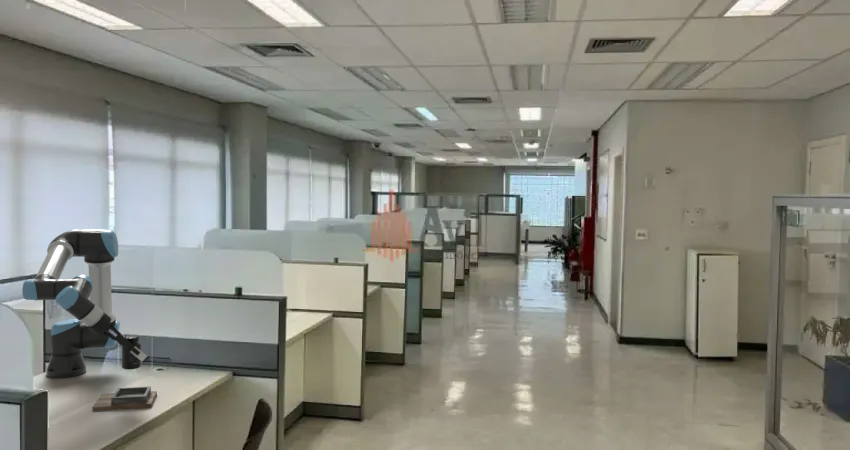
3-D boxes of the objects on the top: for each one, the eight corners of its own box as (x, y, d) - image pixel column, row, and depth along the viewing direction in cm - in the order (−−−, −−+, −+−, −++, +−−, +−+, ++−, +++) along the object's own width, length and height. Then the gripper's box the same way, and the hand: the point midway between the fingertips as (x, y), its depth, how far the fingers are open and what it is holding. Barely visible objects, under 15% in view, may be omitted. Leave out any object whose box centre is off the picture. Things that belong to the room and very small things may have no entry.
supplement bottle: (118, 366, 238) (119, 336, 238) (137, 363, 243) (137, 333, 243) (125, 370, 234) (125, 339, 233) (144, 367, 238) (144, 336, 238)
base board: (101, 397, 243) (101, 387, 243) (156, 394, 249) (156, 385, 248) (92, 410, 229) (92, 400, 229) (150, 407, 234) (151, 397, 234)
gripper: (81, 322, 235) (126, 358, 246) (94, 332, 220) (142, 370, 231) (97, 307, 238) (141, 343, 250) (110, 316, 223) (156, 354, 235)
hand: (141, 356), depth 240 cm, fingers closed on supplement bottle, 7 cm apart
